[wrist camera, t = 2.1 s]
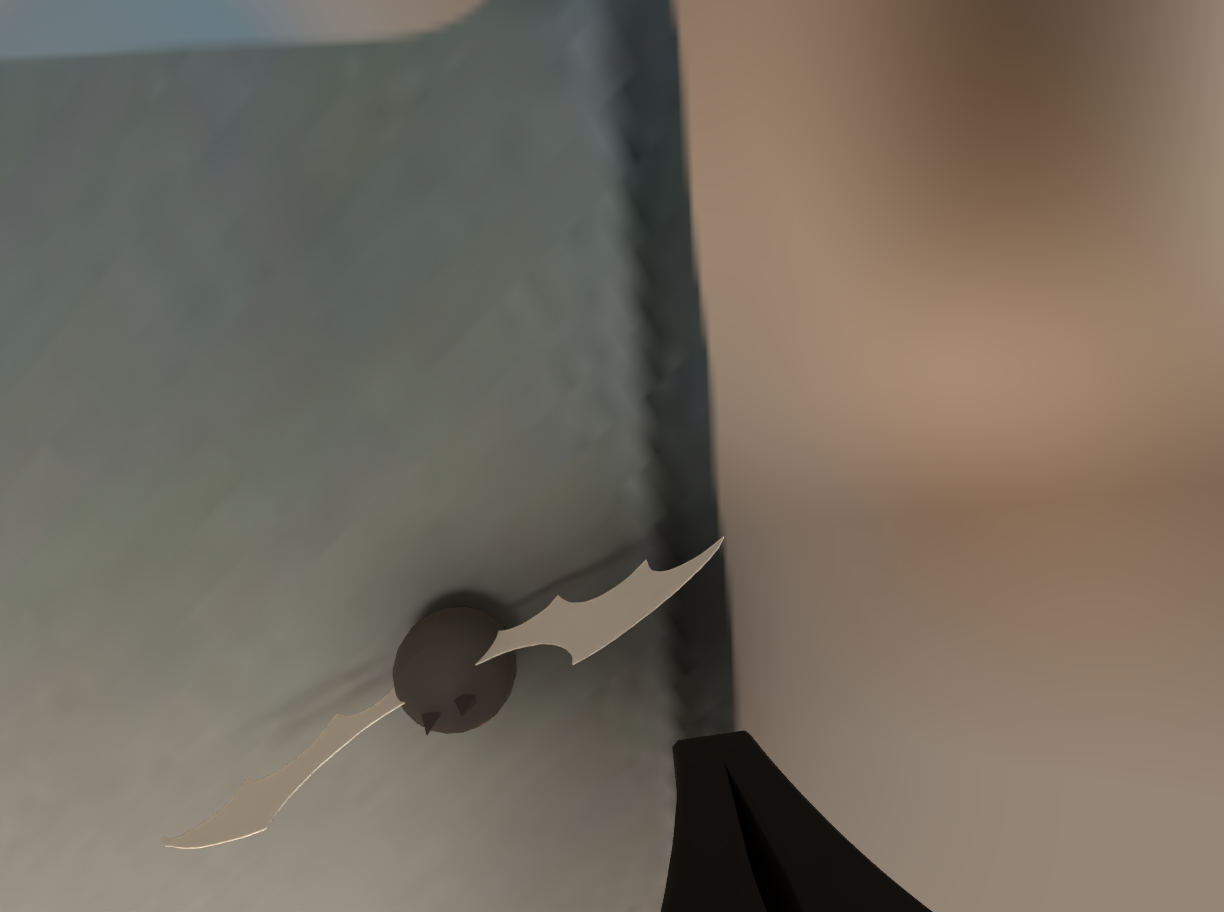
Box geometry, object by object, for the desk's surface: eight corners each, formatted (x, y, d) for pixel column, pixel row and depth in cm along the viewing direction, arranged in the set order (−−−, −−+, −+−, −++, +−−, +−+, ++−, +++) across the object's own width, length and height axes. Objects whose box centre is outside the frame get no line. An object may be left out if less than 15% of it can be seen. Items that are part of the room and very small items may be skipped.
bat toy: (197, 724, 17) (66, 876, 13) (678, 460, 17) (722, 522, 12) (264, 801, 18) (164, 971, 14) (728, 553, 17) (787, 643, 13)
